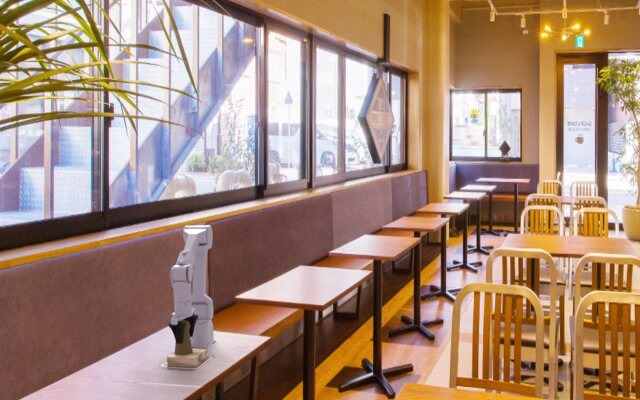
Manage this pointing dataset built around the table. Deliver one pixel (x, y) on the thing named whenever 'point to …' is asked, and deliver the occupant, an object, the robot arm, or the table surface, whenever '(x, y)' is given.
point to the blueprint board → (164, 366)
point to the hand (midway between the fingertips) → (184, 339)
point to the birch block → (187, 358)
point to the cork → (184, 342)
